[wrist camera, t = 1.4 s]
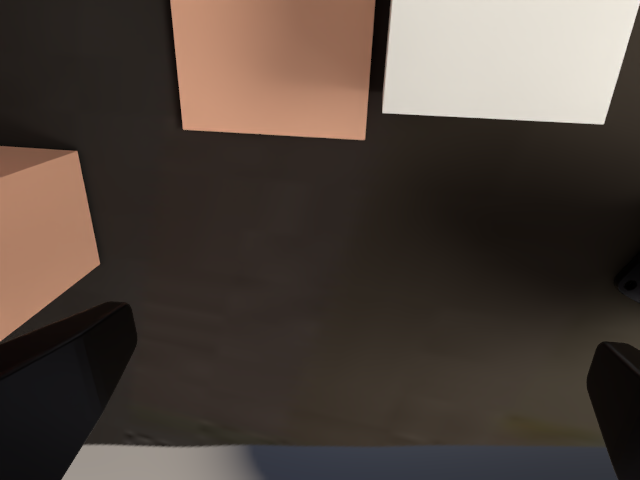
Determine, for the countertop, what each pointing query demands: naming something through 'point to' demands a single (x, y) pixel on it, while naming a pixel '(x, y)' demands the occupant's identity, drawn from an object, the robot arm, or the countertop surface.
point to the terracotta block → (41, 231)
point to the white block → (506, 58)
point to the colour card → (274, 66)
